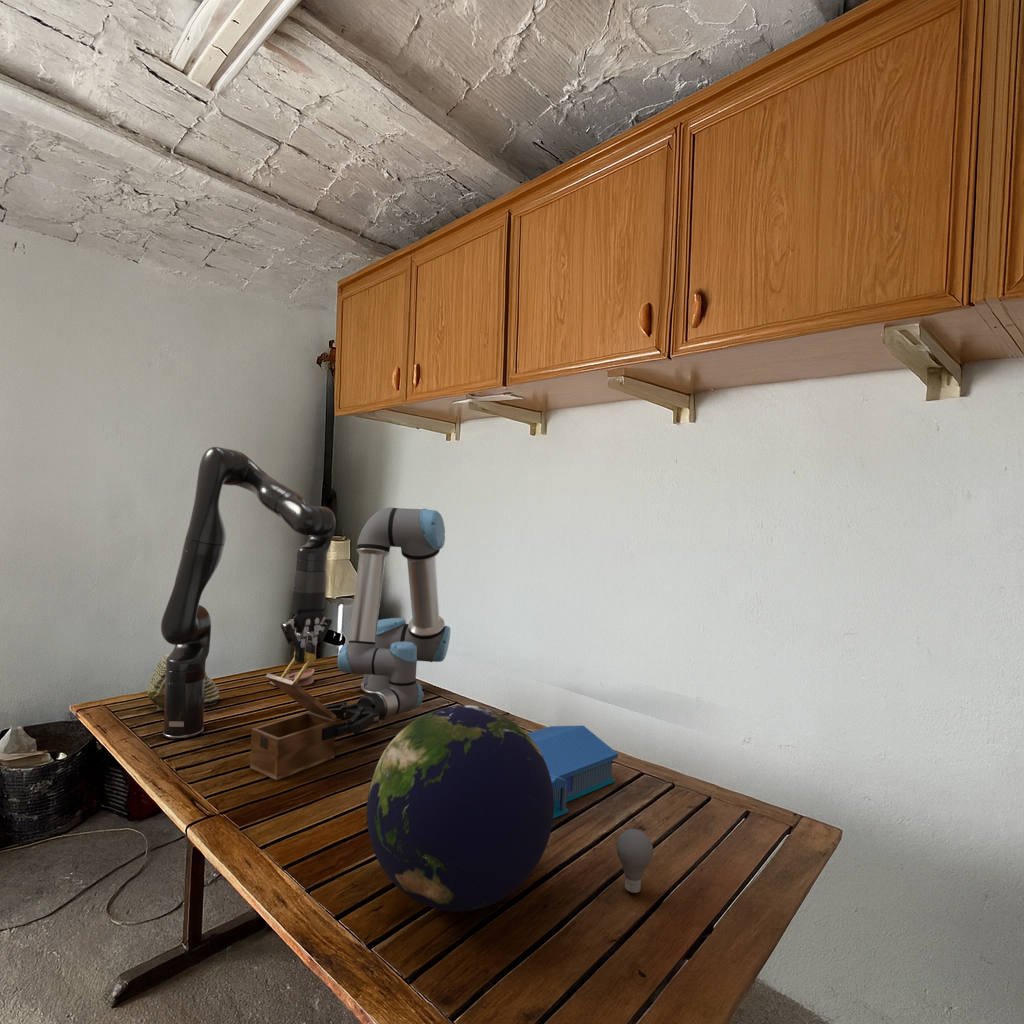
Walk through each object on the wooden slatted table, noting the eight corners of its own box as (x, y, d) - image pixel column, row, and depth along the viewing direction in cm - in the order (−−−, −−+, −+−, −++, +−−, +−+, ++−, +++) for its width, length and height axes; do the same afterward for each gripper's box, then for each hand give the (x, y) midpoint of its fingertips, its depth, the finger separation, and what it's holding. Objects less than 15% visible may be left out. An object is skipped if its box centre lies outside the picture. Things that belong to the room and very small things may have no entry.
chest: (276, 780, 140) (278, 739, 140) (249, 767, 146) (251, 728, 146) (334, 757, 154) (335, 720, 154) (307, 747, 159) (309, 711, 159)
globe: (322, 922, 94) (330, 722, 94) (423, 829, 122) (430, 674, 122) (507, 988, 83) (517, 762, 83) (572, 869, 111) (580, 699, 110)
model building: (497, 843, 118) (499, 790, 118) (422, 794, 136) (424, 748, 136) (626, 786, 145) (628, 743, 144) (549, 751, 163) (551, 713, 163)
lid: (292, 685, 143) (315, 650, 147) (265, 676, 148) (288, 643, 153) (334, 720, 153) (354, 687, 158) (308, 710, 159) (328, 679, 164)
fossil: (144, 707, 182) (145, 655, 182) (212, 696, 194) (213, 647, 194) (151, 716, 175) (153, 662, 175) (221, 703, 188) (223, 653, 188)
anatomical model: (264, 673, 208) (283, 664, 219) (264, 685, 208) (283, 676, 219) (301, 677, 205) (319, 668, 216) (301, 689, 205) (318, 679, 216)
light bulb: (610, 879, 108) (613, 822, 108) (644, 879, 109) (647, 822, 109) (619, 902, 102) (622, 840, 102) (655, 901, 103) (658, 840, 103)
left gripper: (294, 593, 144) (289, 669, 143) (342, 589, 155) (337, 660, 155) (274, 589, 148) (269, 663, 148) (322, 585, 159) (318, 654, 159)
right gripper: (406, 730, 165) (339, 756, 147) (347, 711, 178) (279, 733, 160) (407, 702, 165) (340, 724, 147) (348, 684, 178) (280, 703, 159)
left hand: (304, 661), depth 151 cm, fingers closed on lid, 2 cm apart
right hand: (308, 729), depth 153 cm, fingers closed on chest, 10 cm apart
